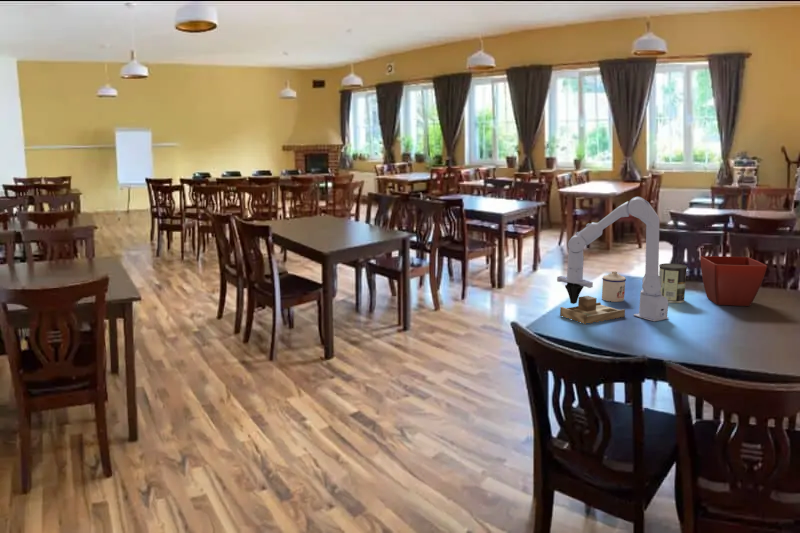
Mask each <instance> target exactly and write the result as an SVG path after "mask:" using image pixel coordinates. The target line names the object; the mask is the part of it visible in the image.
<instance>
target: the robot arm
mask: <svg viewBox="0 0 800 533" xmlns="http://www.w3.org/2000/svg"><path fill="white" fill-rule="evenodd" d="M630 216H632V217H634V218H637V219H639V220H640V221H641V222H642V223H644V224H645V226H646V227H645V229H646V230H645V267H644V268H645V271H644V272H645V273H644V276H643V277H642V285H641V286H642V289H641V290H640V294H639V306H638V307H639V310H638V313H633V316H634V317H638V318H641V319H645V320H648V321H650V322H658V321H663V320H668V319H669V316H668V310H669V303H668V299H667V298H666V297H664V296H662V293H661V291H660V289H661V280H660V277H659V265H660V264H659V257H660V254H659V252H660V222H661V221H660V217H659V215H658V214H657V212H656V210H655V209H654V208H653V206H652V205H651V203H650V202H649V201H647V200H646V199H644V198H643V197H641V196H634V197H632V198H631V199H630V200H629V201H628V200H627V201H626V202H624V203H622V204H620V205H619V206H617V207H616V208H615V209H613V210H612V211H611V212H609V213H608V214H607V215H606V216H605V217H603V218H602V219H601V220H599V221H598V222H591V223H590V222H589V223H587V224H586V225H585V227H584V228H582V229H581V230H580V231H577V232H576V233H575V235H572V236H571V238H570V239H569V240H568V241H567V242H568V243H567V248H568V255H567V266H566V267H567V268H566V270H567V271H566V276H563V275H558V276H557V277H556V281H557V282H558V283H565V285H564V288H565V289H566V291H567V294H568V297H569V302H570V304H572V305H574V304H578V301H579V297H580V294H581V292H582V290H583V288H584V287H586V288H588V289H589V288H593V283H594V282H593V281H590V280H587V279H584V257H585V256H584V248H585V246H589V245H590V244H591V243H593V242H595V241H596V240H597V239H598V238H600V237H601V236H602V235H603V232H604V231H603V230H604V229H606V228H607V227H608V226H611V225H612V224H613V223H614V222H616V221H618V220H619V219H620V218H628V217H630Z"/></svg>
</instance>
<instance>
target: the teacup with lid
mask: <svg viewBox="0 0 800 533" xmlns="http://www.w3.org/2000/svg"><path fill="white" fill-rule="evenodd" d="M601 279H602V289H601V299H602V300H603V301H605V300H606V301H605V302H610V301H611V302H612V303H619V302H620V303H621V302H624V301H625V292H626V281H627V279H626V277H625V276H623V275H621V274H619V273H618V271H617V270H612V271H611V273H609V274H606V275H603V276H602V278H601ZM611 302H610V303H611Z"/></svg>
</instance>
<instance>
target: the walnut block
mask: <svg viewBox="0 0 800 533" xmlns="http://www.w3.org/2000/svg"><path fill="white" fill-rule="evenodd" d="M596 303H597V298H596V297H594V296H590V295H583V296H579V297H578V300H577V304H578V305H577V306H578V309H580V310H583V311H586V312H588V311H593V310H596Z"/></svg>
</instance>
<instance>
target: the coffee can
mask: <svg viewBox="0 0 800 533" xmlns="http://www.w3.org/2000/svg"><path fill="white" fill-rule="evenodd" d="M658 268H659V269H658V275H659V277H660V280H661V289H660V291H661V293H662V296H664V297H666V298H667V299H668V304H680V303H681V304H682V303H684V302H685V296H686V295H685V294H686V282H687V271H688V270H687V269H688V266H687V265H685V264H680V263H671V262H670V263H661V264H659V265H658Z"/></svg>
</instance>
